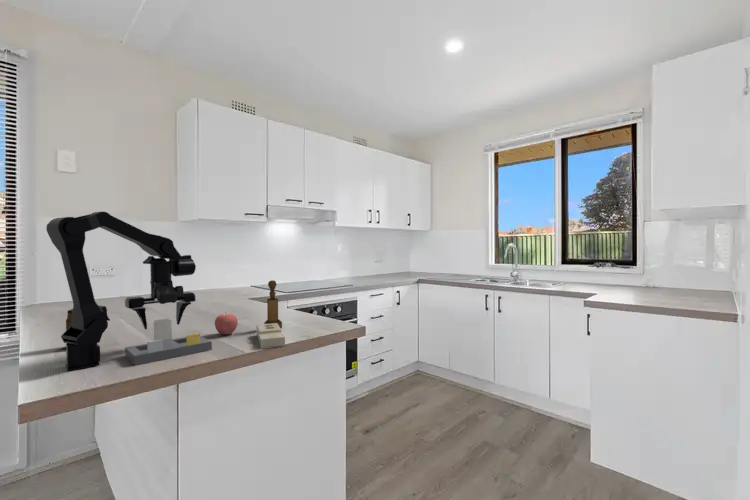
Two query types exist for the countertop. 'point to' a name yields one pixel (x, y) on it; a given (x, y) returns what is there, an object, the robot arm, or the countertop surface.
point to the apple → (226, 323)
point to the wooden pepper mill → (272, 306)
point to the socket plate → (167, 349)
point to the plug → (162, 329)
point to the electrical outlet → (270, 335)
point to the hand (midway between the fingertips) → (162, 326)
